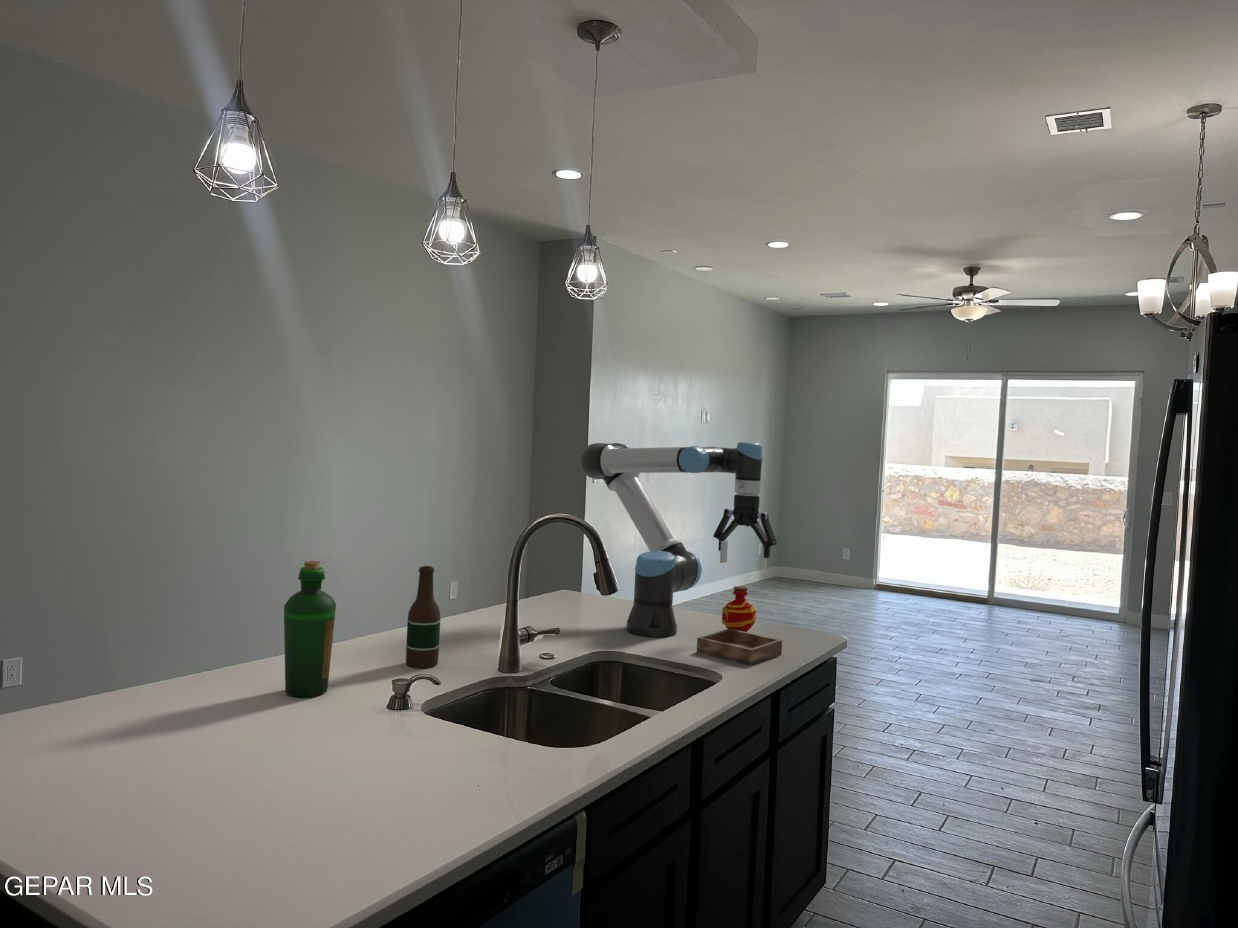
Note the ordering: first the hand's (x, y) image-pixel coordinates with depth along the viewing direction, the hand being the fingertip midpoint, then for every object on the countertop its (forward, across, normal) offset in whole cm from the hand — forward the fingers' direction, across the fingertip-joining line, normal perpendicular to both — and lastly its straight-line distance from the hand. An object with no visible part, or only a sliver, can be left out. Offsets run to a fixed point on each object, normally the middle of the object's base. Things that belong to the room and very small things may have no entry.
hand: (742, 565), depth 255 cm
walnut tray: (+22, +10, -16) cm, 29 cm away
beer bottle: (+22, -36, -89) cm, 98 cm away
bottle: (+22, -35, -121) cm, 127 cm away
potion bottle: (+22, 0, 0) cm, 22 cm away
